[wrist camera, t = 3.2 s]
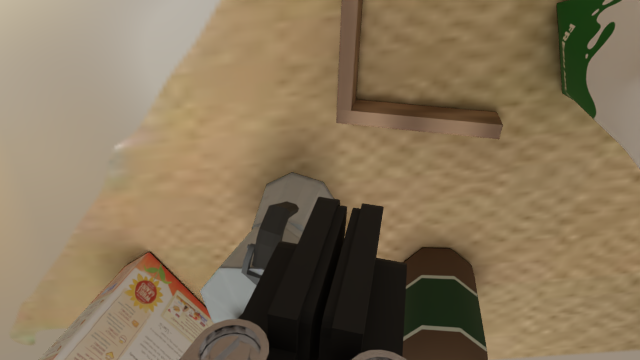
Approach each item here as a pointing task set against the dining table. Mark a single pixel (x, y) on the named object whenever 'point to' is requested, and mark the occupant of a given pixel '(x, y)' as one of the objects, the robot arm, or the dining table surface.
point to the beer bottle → (442, 308)
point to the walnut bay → (397, 113)
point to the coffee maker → (262, 243)
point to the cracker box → (135, 318)
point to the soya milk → (603, 64)
